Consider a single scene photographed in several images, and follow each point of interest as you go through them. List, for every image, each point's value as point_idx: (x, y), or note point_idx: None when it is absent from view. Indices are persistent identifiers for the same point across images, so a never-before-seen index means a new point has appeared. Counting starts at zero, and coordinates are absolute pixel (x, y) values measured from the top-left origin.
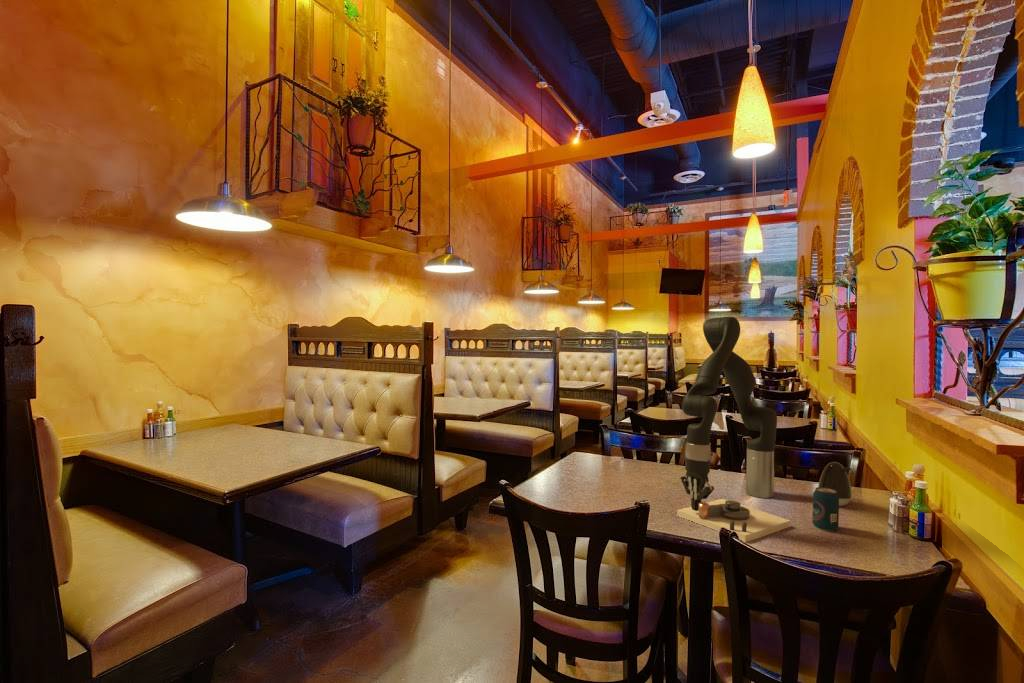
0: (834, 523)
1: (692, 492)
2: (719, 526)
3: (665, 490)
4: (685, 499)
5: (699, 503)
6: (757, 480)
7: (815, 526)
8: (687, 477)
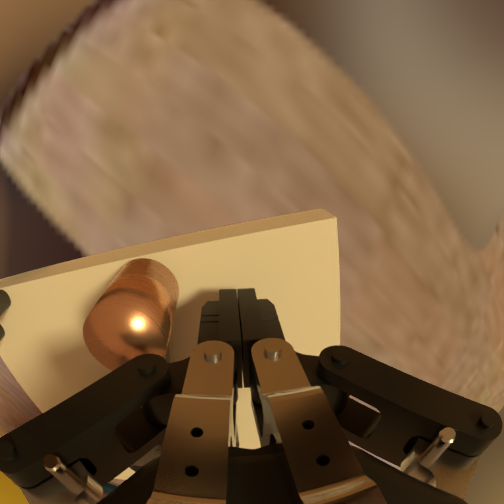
0: None
1: (266, 384)
2: (37, 278)
3: (487, 347)
4: (424, 372)
5: (134, 318)
6: None
7: (110, 483)
8: (428, 498)
